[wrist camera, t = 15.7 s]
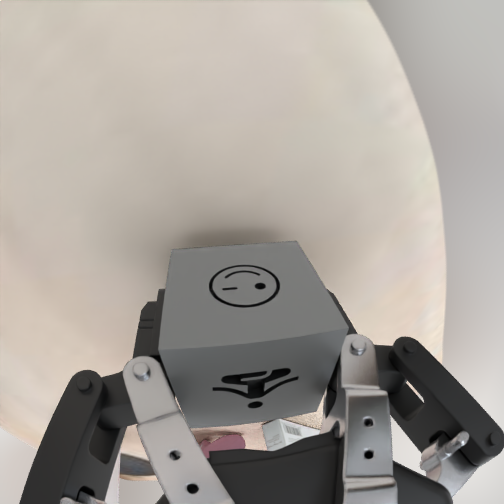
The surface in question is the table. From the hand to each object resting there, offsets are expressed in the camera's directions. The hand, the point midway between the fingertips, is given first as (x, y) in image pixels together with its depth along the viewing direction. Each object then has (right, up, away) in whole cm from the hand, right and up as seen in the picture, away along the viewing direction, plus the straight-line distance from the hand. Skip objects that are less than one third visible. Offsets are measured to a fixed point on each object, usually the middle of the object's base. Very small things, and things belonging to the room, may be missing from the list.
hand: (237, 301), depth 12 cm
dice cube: (0, 0, +1) cm, 1 cm away
